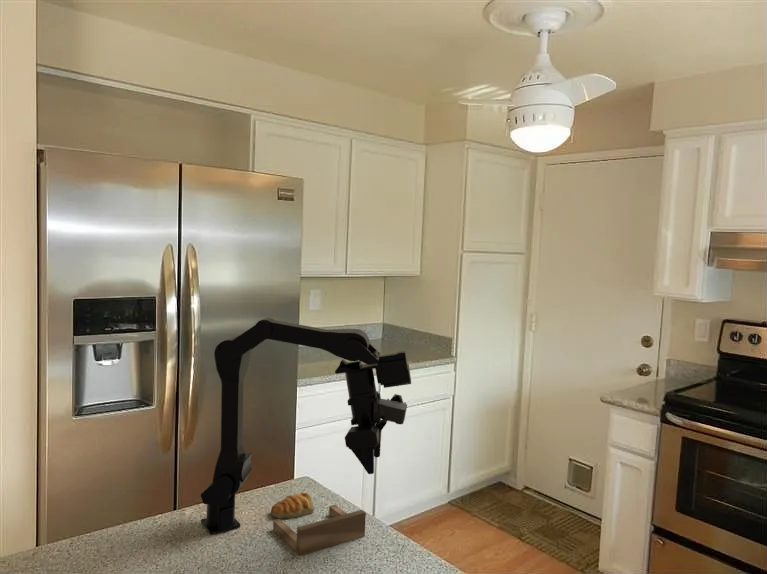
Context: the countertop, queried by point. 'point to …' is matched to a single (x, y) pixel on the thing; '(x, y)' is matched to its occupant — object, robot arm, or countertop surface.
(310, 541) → the frame
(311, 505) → the pastry
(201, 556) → the countertop surface
